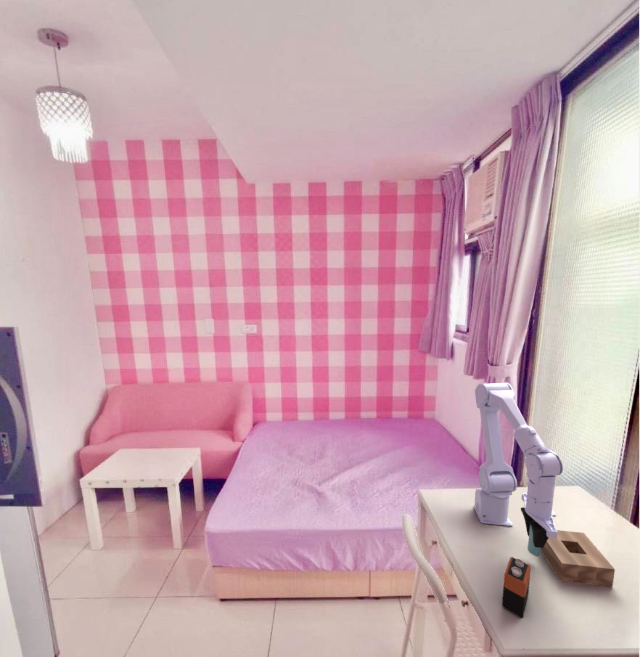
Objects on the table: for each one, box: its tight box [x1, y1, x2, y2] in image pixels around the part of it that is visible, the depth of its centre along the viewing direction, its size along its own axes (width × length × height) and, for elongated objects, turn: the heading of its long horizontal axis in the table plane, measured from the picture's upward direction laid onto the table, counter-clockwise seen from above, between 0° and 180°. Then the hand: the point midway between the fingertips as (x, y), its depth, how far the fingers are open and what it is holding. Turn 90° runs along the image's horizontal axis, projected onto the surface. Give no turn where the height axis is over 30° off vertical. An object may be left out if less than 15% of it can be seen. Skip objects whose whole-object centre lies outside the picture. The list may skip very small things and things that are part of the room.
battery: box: [501, 556, 532, 619], centre depth 77 cm, size 4×7×10 cm, turn 138°
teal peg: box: [527, 521, 542, 557], centre depth 88 cm, size 3×3×8 cm
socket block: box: [541, 529, 616, 588], centre depth 88 cm, size 12×12×5 cm
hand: (535, 541), depth 88 cm, fingers closed on teal peg, 3 cm apart
